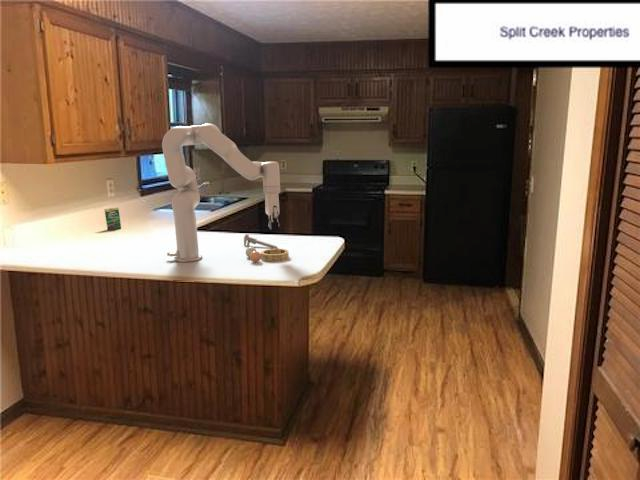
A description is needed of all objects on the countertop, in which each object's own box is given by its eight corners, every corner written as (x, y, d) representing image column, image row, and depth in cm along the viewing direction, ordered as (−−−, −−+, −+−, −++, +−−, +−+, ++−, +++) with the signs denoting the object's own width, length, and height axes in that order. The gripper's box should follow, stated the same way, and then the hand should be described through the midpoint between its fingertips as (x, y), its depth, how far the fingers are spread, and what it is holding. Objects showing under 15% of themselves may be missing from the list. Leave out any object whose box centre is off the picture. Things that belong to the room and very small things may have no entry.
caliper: (243, 246, 264) (243, 234, 262) (245, 245, 265) (244, 233, 263) (277, 249, 255) (277, 237, 253) (279, 249, 256) (278, 236, 254)
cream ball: (246, 259, 236) (246, 248, 235) (245, 256, 240) (244, 246, 239) (257, 258, 237) (256, 247, 236) (255, 255, 242) (255, 245, 241)
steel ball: (269, 231, 230) (269, 220, 229) (267, 229, 235) (266, 218, 234) (280, 230, 232) (280, 219, 231) (278, 228, 237) (277, 217, 235)
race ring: (263, 262, 229) (263, 256, 228) (259, 256, 240) (258, 250, 240) (291, 260, 232) (290, 253, 231) (285, 253, 244) (284, 247, 243)
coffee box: (107, 230, 315) (104, 209, 312) (106, 229, 317) (104, 208, 315) (121, 228, 318) (119, 207, 316) (120, 228, 321) (118, 207, 318)
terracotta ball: (250, 263, 227) (250, 252, 226) (249, 261, 232) (248, 250, 231) (262, 262, 228) (261, 251, 227) (260, 260, 233) (259, 249, 232)
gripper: (260, 188, 237) (262, 227, 240) (267, 192, 221) (269, 233, 224) (276, 187, 239) (278, 225, 242) (284, 191, 223) (286, 232, 226)
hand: (273, 229), depth 233 cm, fingers closed on steel ball, 4 cm apart
